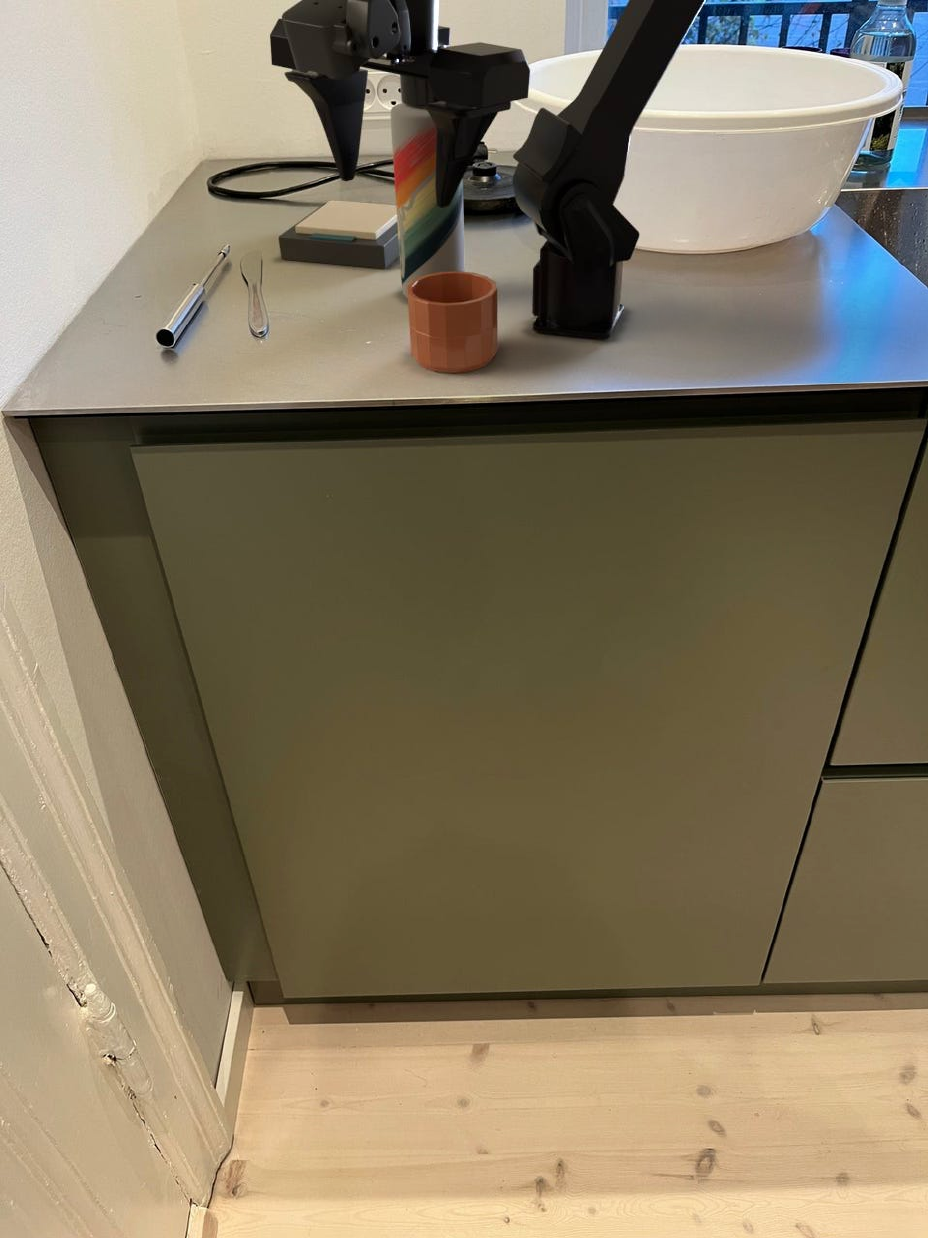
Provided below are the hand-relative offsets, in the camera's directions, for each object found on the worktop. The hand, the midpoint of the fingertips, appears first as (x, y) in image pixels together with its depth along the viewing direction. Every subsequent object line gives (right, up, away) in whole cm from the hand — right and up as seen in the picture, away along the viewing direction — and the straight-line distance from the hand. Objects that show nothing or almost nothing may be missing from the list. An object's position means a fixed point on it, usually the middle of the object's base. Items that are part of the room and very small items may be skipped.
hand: (394, 192), depth 71 cm
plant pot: (+4, -10, +6) cm, 13 cm away
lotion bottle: (+2, -2, +17) cm, 17 cm away
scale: (-6, +6, +27) cm, 28 cm away
